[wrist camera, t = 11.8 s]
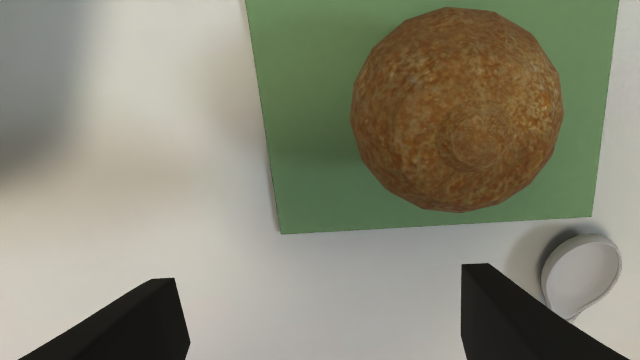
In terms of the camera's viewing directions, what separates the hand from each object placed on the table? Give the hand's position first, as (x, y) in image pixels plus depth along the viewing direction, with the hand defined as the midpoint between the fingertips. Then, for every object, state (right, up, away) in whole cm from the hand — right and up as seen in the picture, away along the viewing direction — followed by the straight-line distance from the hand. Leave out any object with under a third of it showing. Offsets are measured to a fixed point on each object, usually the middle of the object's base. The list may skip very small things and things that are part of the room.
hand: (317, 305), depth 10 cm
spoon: (+11, -4, +11) cm, 16 cm away
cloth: (+5, +7, +7) cm, 11 cm away
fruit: (+4, +7, +7) cm, 11 cm away
